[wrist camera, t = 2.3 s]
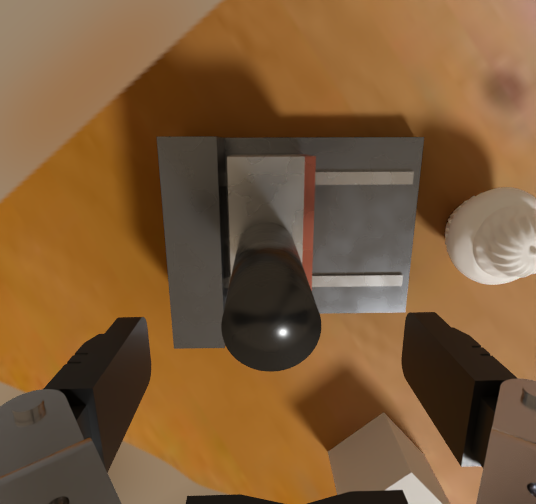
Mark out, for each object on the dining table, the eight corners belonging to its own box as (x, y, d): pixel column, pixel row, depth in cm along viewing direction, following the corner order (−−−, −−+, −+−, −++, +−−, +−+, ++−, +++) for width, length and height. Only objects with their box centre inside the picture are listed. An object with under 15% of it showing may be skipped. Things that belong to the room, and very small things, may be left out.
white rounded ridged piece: (501, 267, 28) (579, 307, 21) (419, 265, 27) (471, 306, 21) (519, 182, 26) (610, 196, 19) (431, 180, 26) (492, 194, 19)
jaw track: (180, 138, 25) (156, 136, 19) (414, 137, 25) (461, 136, 19) (191, 306, 28) (174, 348, 22) (397, 303, 28) (433, 344, 22)
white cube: (369, 490, 33) (391, 563, 28) (327, 450, 32) (341, 518, 26) (424, 453, 32) (460, 521, 27) (383, 411, 31) (411, 472, 25)
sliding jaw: (232, 154, 23) (200, 168, 11) (307, 154, 23) (362, 167, 11) (236, 304, 26) (215, 455, 13) (303, 303, 26) (343, 452, 13)
